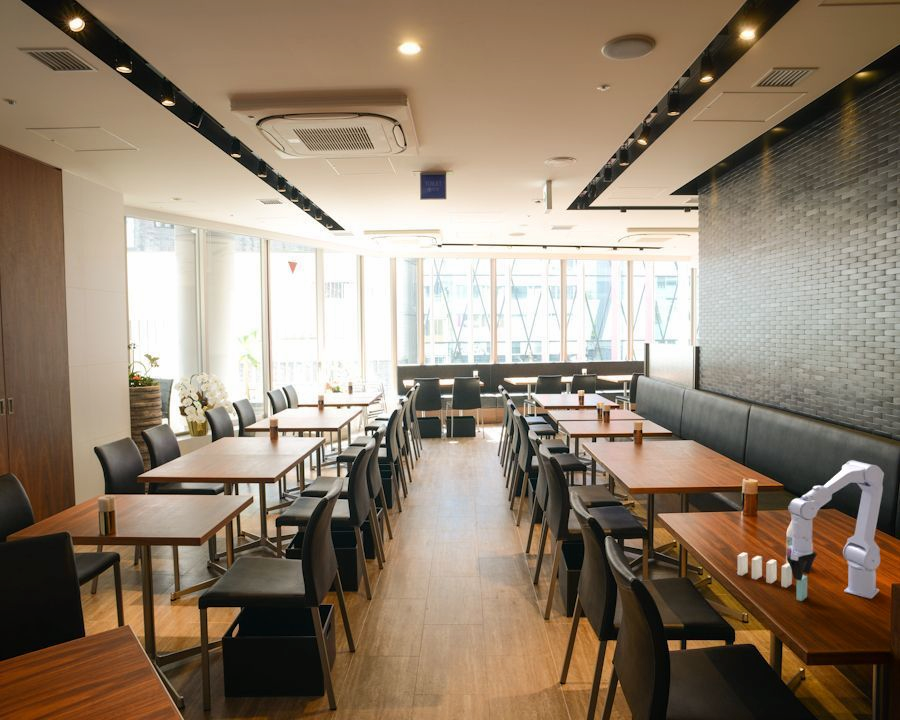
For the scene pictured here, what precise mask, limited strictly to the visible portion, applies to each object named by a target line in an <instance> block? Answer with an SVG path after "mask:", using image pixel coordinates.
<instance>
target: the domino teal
mask: <svg viewBox="0 0 900 720" xmlns="http://www.w3.org/2000/svg"><path fill="white" fill-rule="evenodd" d="M795 591H796V592H795V593H796V600H797V601H800V602H803V601H804V600H805V599H806V598H808V575H804V574H803V576H802V579H801V580H796V590H795Z"/></svg>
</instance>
